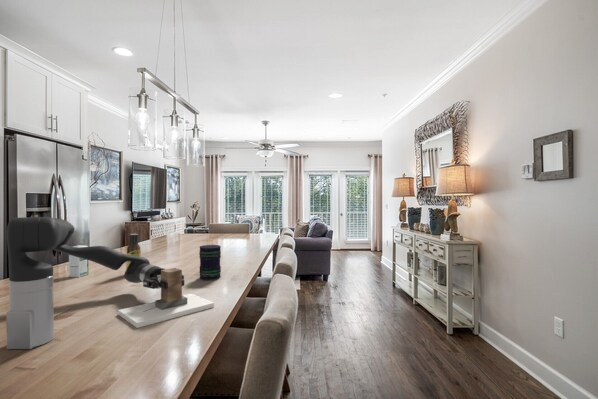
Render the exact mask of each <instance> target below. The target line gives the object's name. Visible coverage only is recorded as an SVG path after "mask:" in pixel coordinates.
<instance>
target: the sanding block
mask: <svg viewBox="0 0 598 399" xmlns="http://www.w3.org/2000/svg"><path fill="white" fill-rule="evenodd" d="M164 269H165V270H161V280H162V281H165V282H167V283H168V289H163V288H160V289H161V290H160V299H156V300H154V302H155V307H157V308H159V309H161V310H164V309H168V308H172V307H176V306H180V305H184V304H187V298H186V297H184V296H183V286H182V275H183V269H180V268H177V267H173V268H167V269H166V268H164Z"/></svg>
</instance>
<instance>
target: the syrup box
mask: <svg viewBox="0 0 598 399" xmlns="http://www.w3.org/2000/svg"><path fill="white" fill-rule="evenodd" d="M73 247H89V246H88V245H86V244H85V245H84V244H81V245H79V244H78V245H74V246H73ZM68 263H69V264H68V267H69V268H68V269H69V270H68V271H69V272H68V273H69V277H70V278H71V277H72V278H80V277H85V276H88V275H89V274H90V273H89V260H86V259H82V258H79V257H75V256H72V255H69V254H68Z"/></svg>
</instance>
